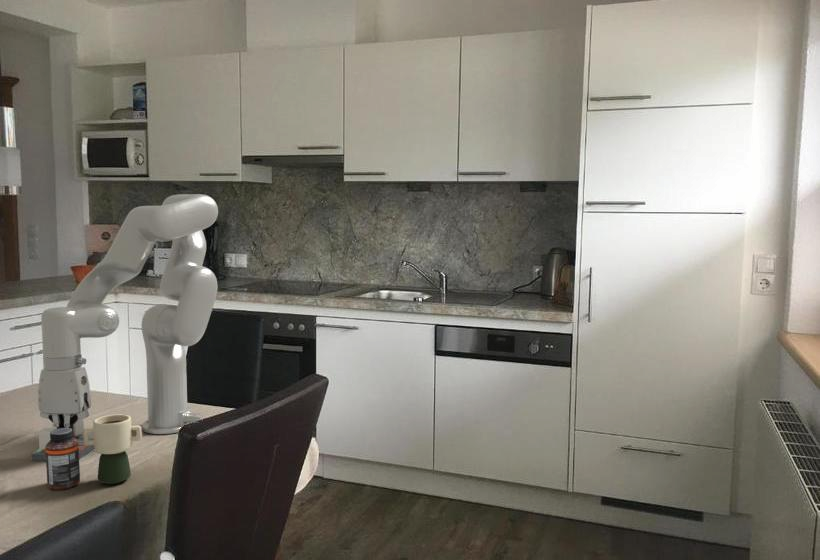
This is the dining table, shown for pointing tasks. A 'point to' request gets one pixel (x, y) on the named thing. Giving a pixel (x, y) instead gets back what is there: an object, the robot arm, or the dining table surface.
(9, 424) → the dining table surface
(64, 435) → the supplement bottle
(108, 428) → the character mug
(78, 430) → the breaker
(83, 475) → the dining table surface
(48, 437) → the block
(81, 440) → the panel
